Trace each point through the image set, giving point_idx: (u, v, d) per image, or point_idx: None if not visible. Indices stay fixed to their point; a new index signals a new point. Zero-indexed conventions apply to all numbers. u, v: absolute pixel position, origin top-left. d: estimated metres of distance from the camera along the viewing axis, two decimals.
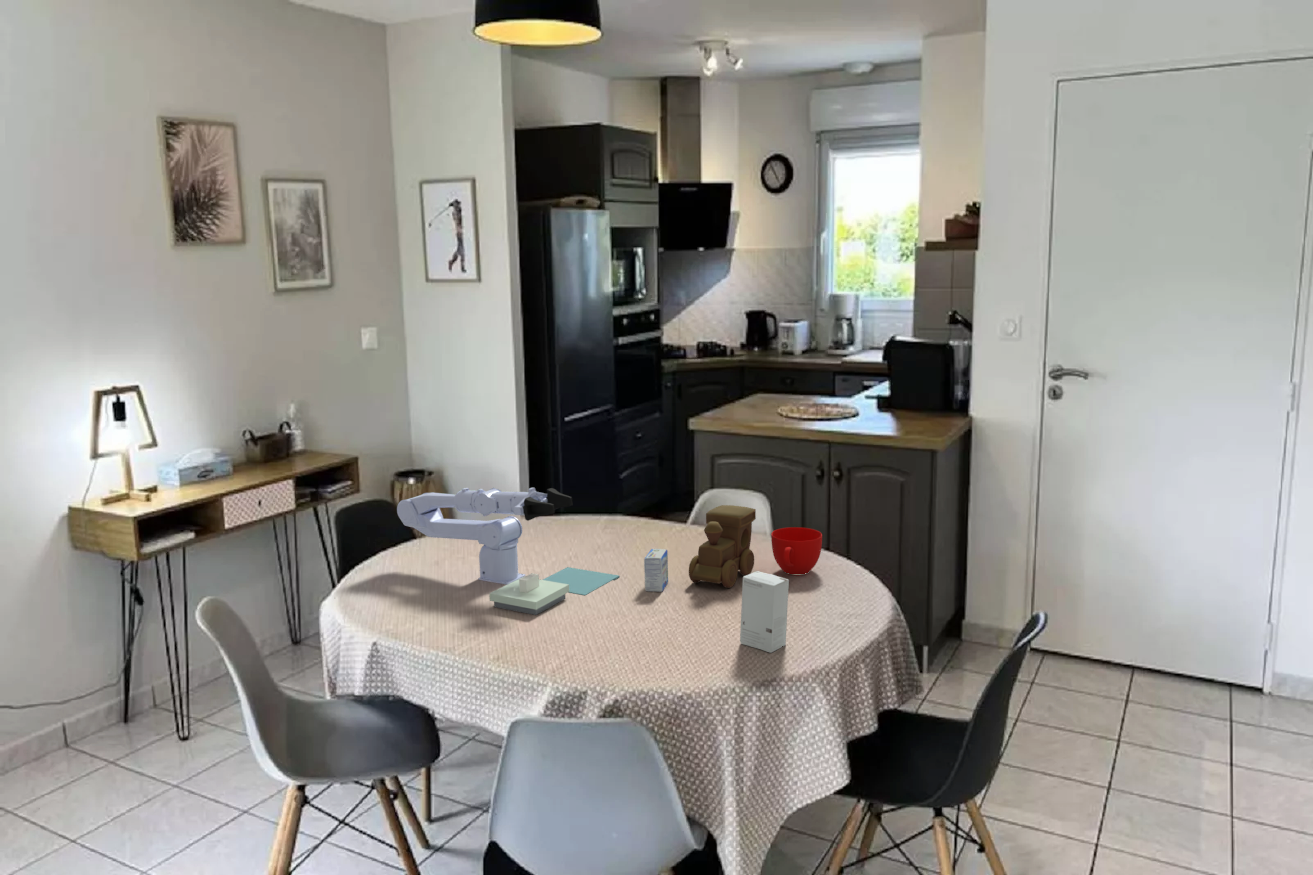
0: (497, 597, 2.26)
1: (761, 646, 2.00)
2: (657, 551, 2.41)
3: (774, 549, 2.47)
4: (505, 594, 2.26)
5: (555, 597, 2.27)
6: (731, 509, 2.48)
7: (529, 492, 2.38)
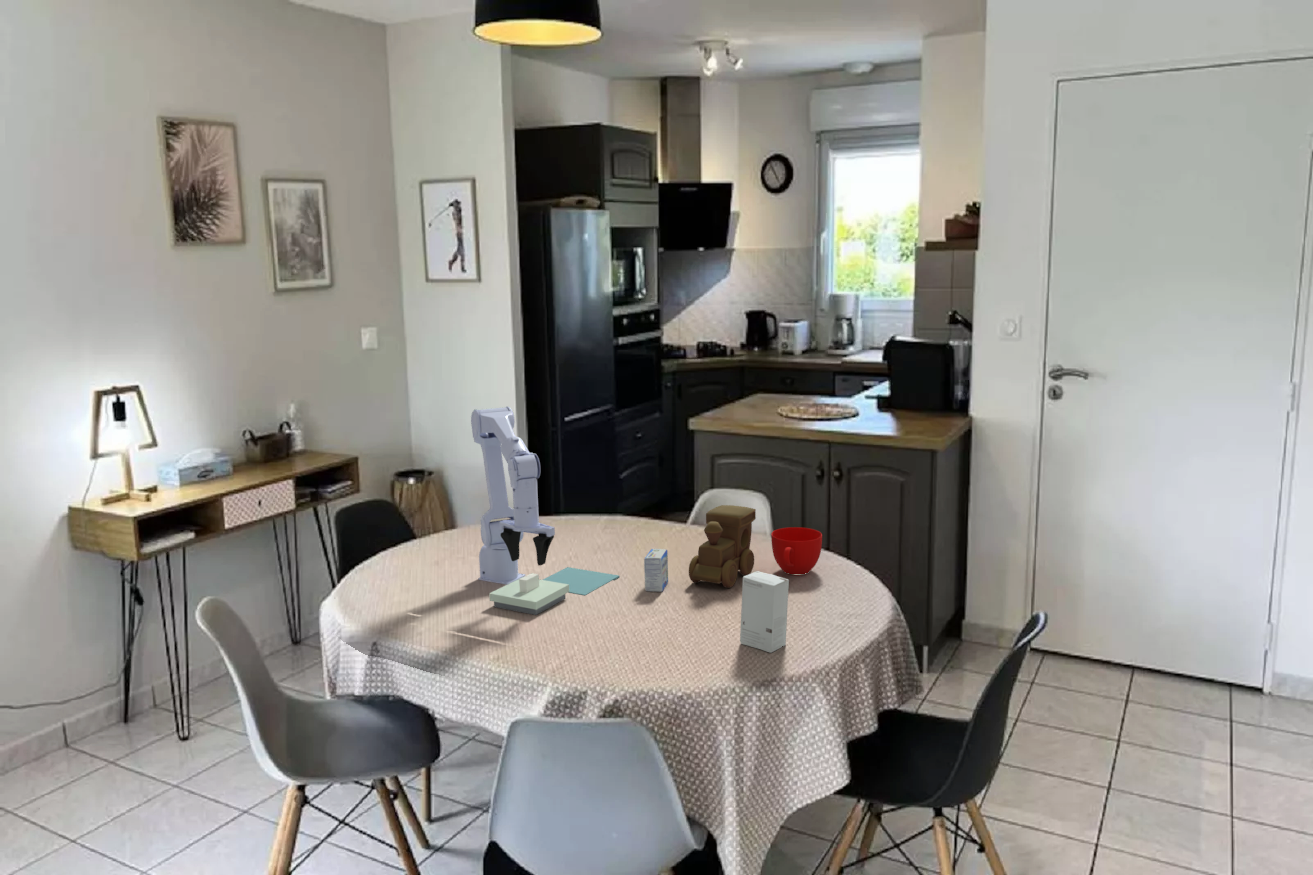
0: (497, 597, 2.26)
1: (761, 646, 2.00)
2: (657, 551, 2.41)
3: (774, 549, 2.47)
4: (505, 594, 2.26)
5: (555, 597, 2.27)
6: (731, 509, 2.48)
7: None
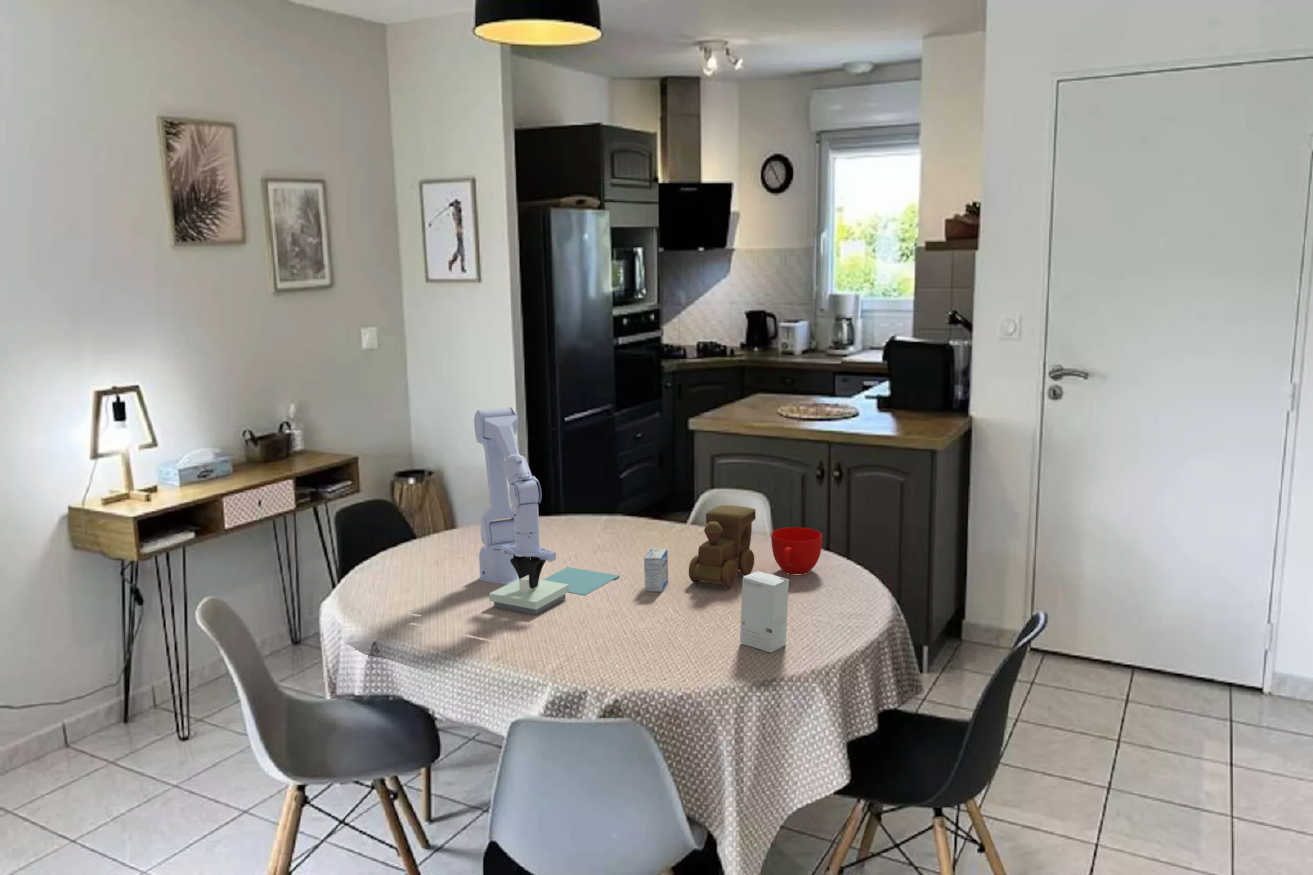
0: (497, 597, 2.26)
1: (761, 646, 2.00)
2: (657, 551, 2.41)
3: (774, 549, 2.47)
4: (505, 594, 2.26)
5: (555, 597, 2.27)
6: (731, 509, 2.48)
7: None
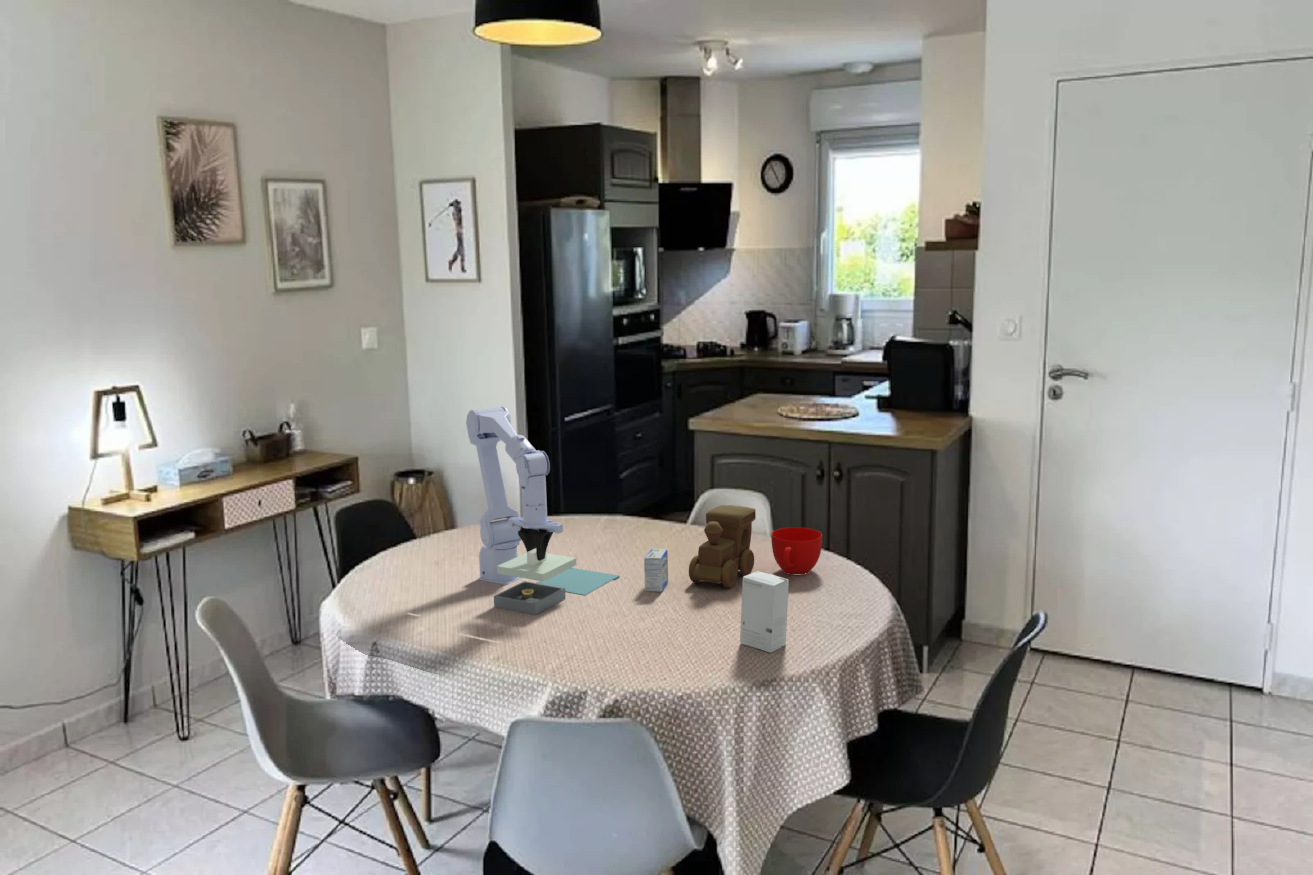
0: (505, 569, 2.28)
1: (761, 646, 2.00)
2: (657, 551, 2.41)
3: (774, 549, 2.47)
4: (513, 566, 2.28)
5: (562, 570, 2.29)
6: (731, 509, 2.48)
7: None
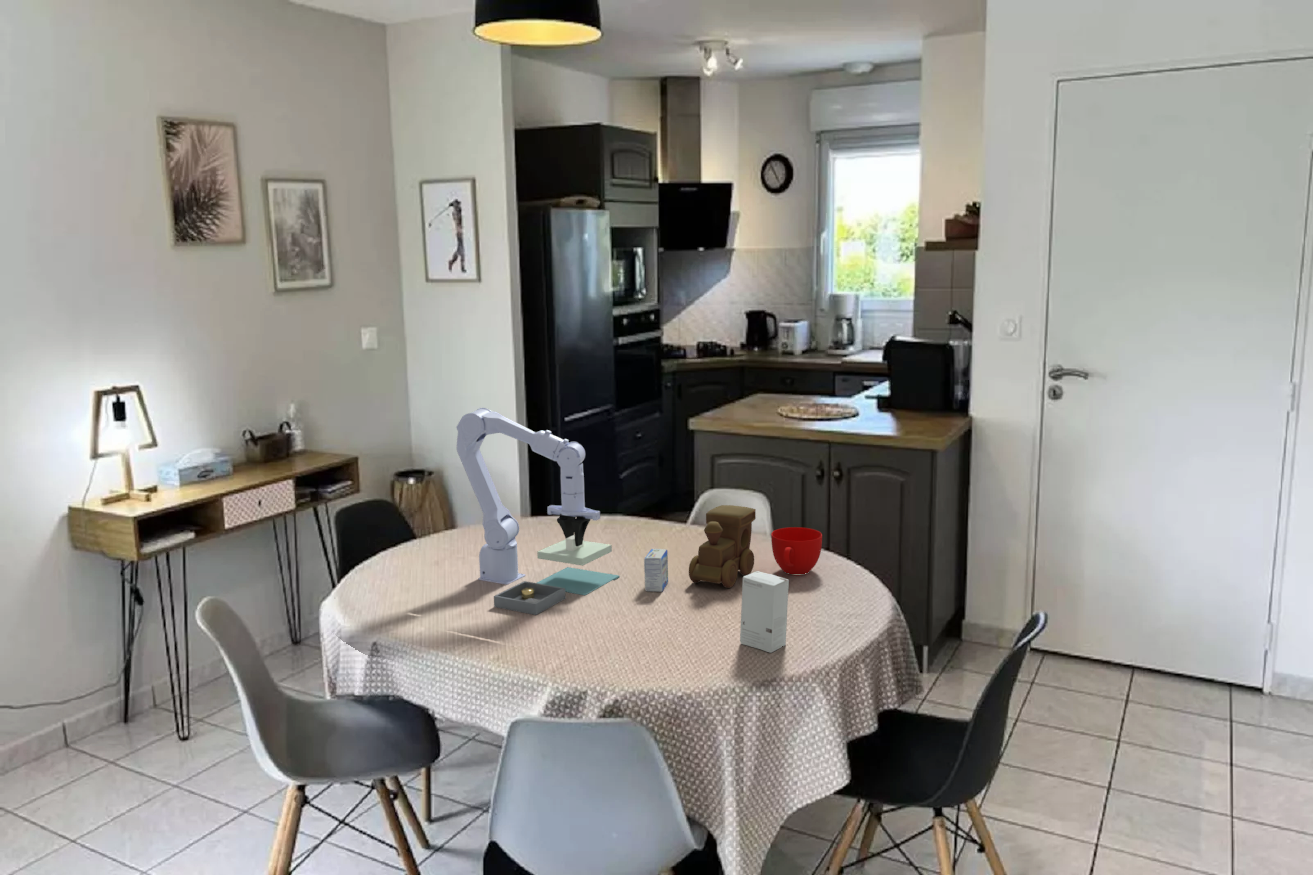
0: (545, 555, 2.40)
1: (761, 646, 2.00)
2: (657, 551, 2.41)
3: (774, 549, 2.47)
4: (553, 552, 2.40)
5: (599, 555, 2.41)
6: (731, 509, 2.48)
7: None
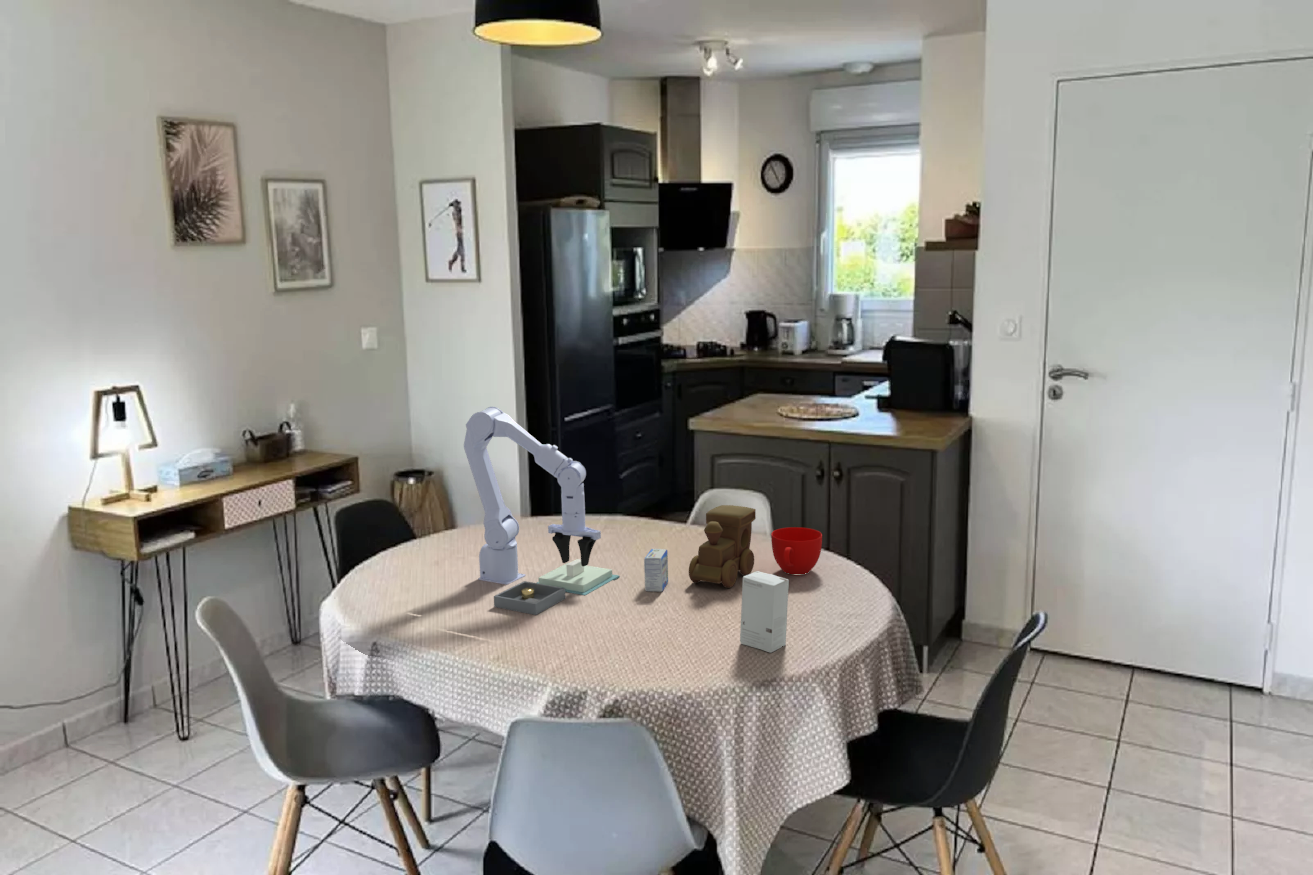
0: (546, 581, 2.41)
1: (761, 646, 2.00)
2: (657, 551, 2.41)
3: (774, 549, 2.47)
4: (554, 578, 2.41)
5: (600, 581, 2.43)
6: (731, 509, 2.48)
7: None
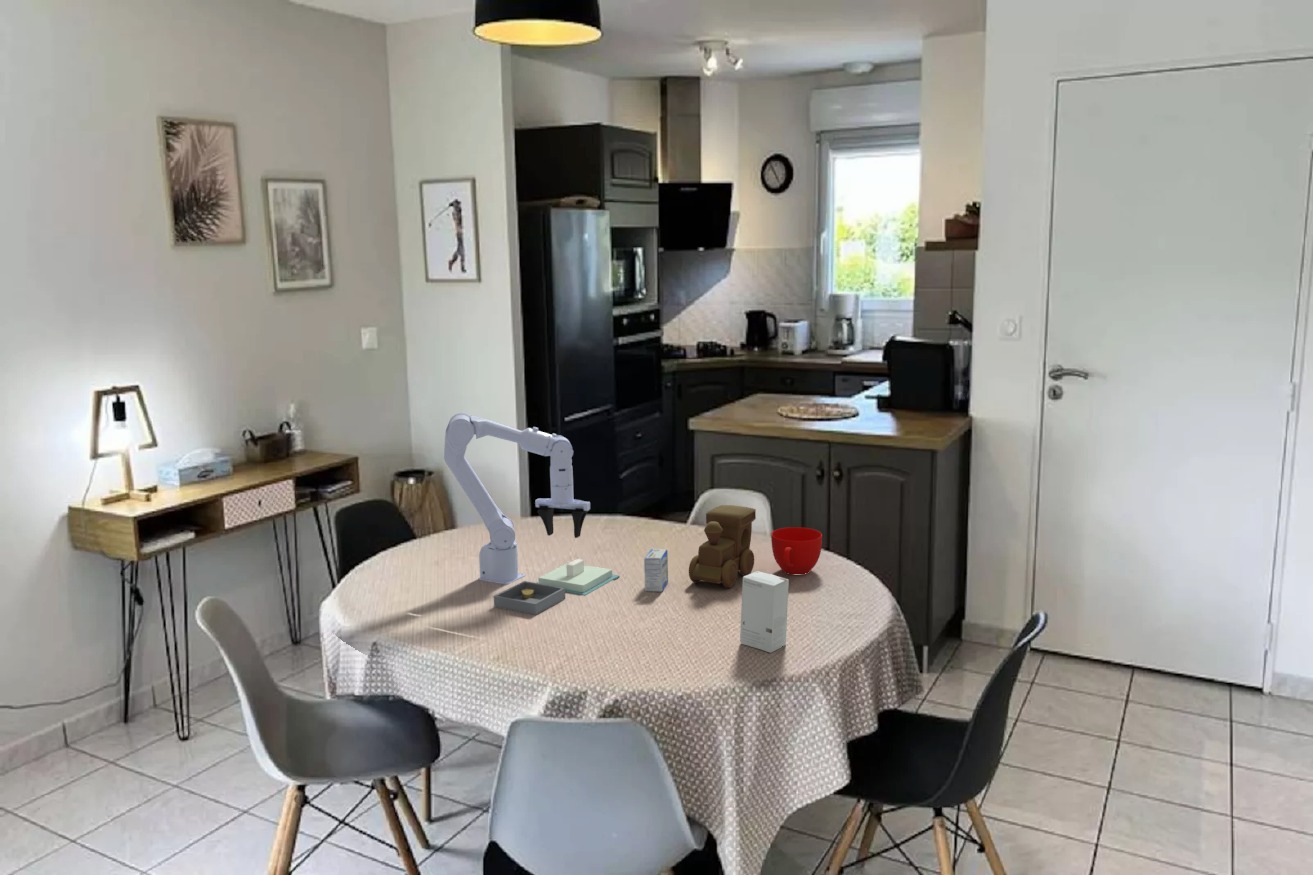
0: (546, 581, 2.41)
1: (761, 646, 2.00)
2: (657, 551, 2.41)
3: (774, 549, 2.47)
4: (554, 578, 2.41)
5: (600, 581, 2.43)
6: (731, 509, 2.48)
7: None
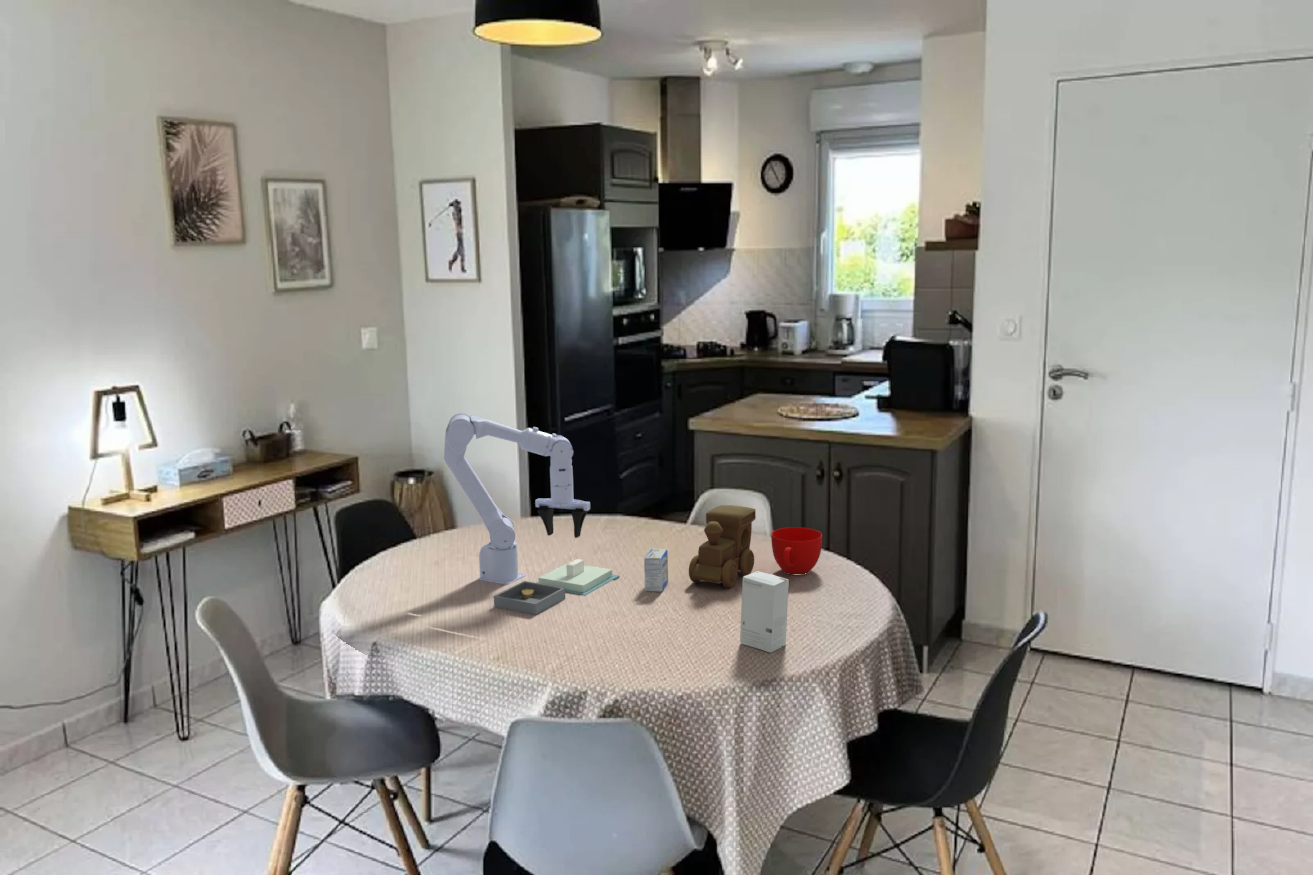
0: (546, 581, 2.41)
1: (761, 646, 2.00)
2: (657, 551, 2.41)
3: (774, 549, 2.47)
4: (554, 578, 2.41)
5: (600, 581, 2.43)
6: (731, 509, 2.48)
7: None
